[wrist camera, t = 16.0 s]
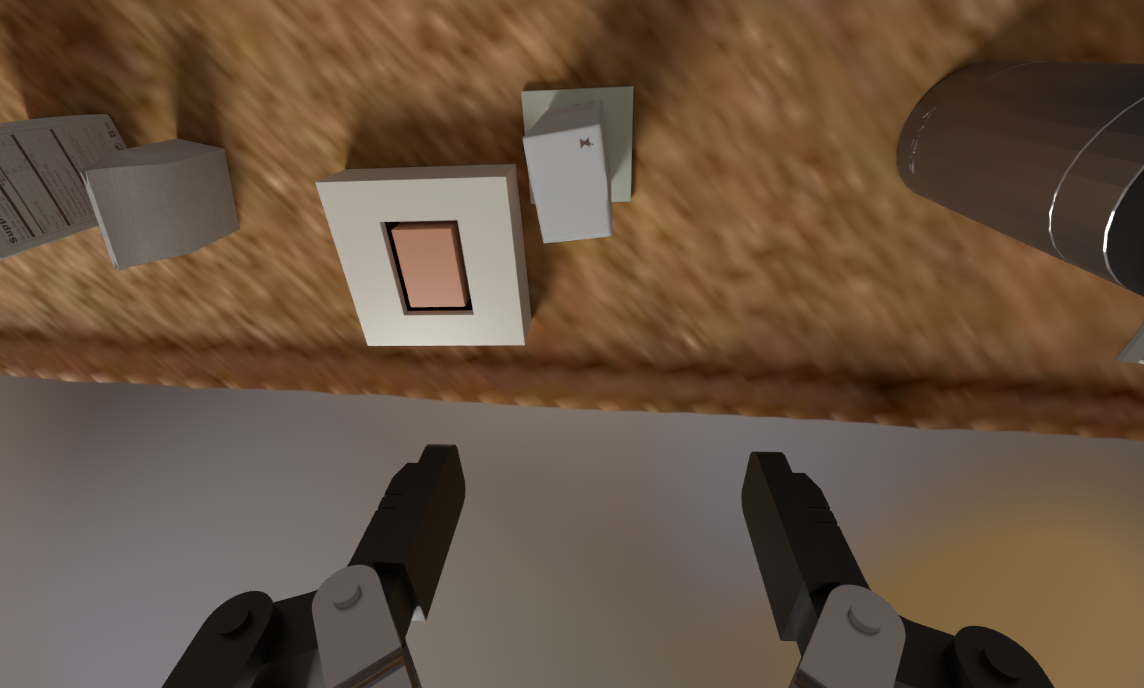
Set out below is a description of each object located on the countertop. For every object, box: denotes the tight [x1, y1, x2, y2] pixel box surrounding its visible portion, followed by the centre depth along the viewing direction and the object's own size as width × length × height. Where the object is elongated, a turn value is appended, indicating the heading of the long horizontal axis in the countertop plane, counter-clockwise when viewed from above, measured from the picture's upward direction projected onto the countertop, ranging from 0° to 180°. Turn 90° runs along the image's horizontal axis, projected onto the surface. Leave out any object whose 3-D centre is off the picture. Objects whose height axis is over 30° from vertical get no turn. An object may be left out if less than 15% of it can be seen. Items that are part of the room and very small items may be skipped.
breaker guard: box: [315, 164, 531, 346], centre depth 39 cm, size 14×14×4 cm
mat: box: [521, 86, 633, 204], centre depth 36 cm, size 8×8×1 cm
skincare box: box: [523, 101, 612, 243], centre depth 30 cm, size 6×4×12 cm
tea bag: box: [80, 138, 240, 270], centre depth 35 cm, size 4×7×10 cm, turn 169°
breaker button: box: [392, 220, 470, 307], centre depth 39 cm, size 5×7×4 cm
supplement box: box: [0, 114, 127, 259], centre depth 33 cm, size 7×7×13 cm
